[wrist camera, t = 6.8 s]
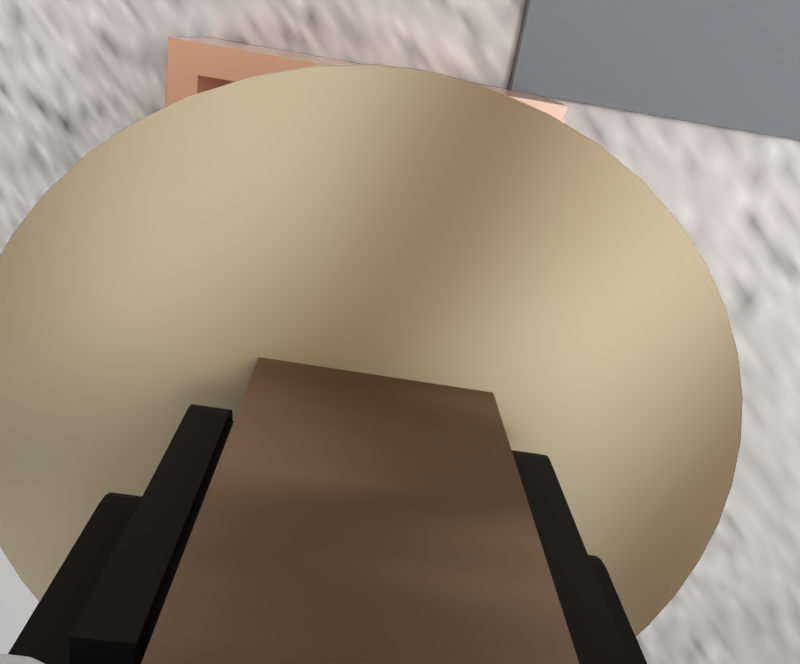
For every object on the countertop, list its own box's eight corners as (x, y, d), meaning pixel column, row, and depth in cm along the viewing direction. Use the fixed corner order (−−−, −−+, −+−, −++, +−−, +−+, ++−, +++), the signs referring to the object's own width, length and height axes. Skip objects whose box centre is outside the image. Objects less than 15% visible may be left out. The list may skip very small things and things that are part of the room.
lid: (820, 147, 10) (1510, 316, 4) (594, 713, 14) (753, 1215, 8) (-12, -14, 9) (-854, -129, 3) (13, 649, 13) (-300, 1169, 7)
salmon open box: (534, 93, 26) (568, 106, 21) (470, 380, 30) (486, 442, 26) (207, 37, 25) (167, 37, 20) (191, 342, 29) (155, 399, 25)
